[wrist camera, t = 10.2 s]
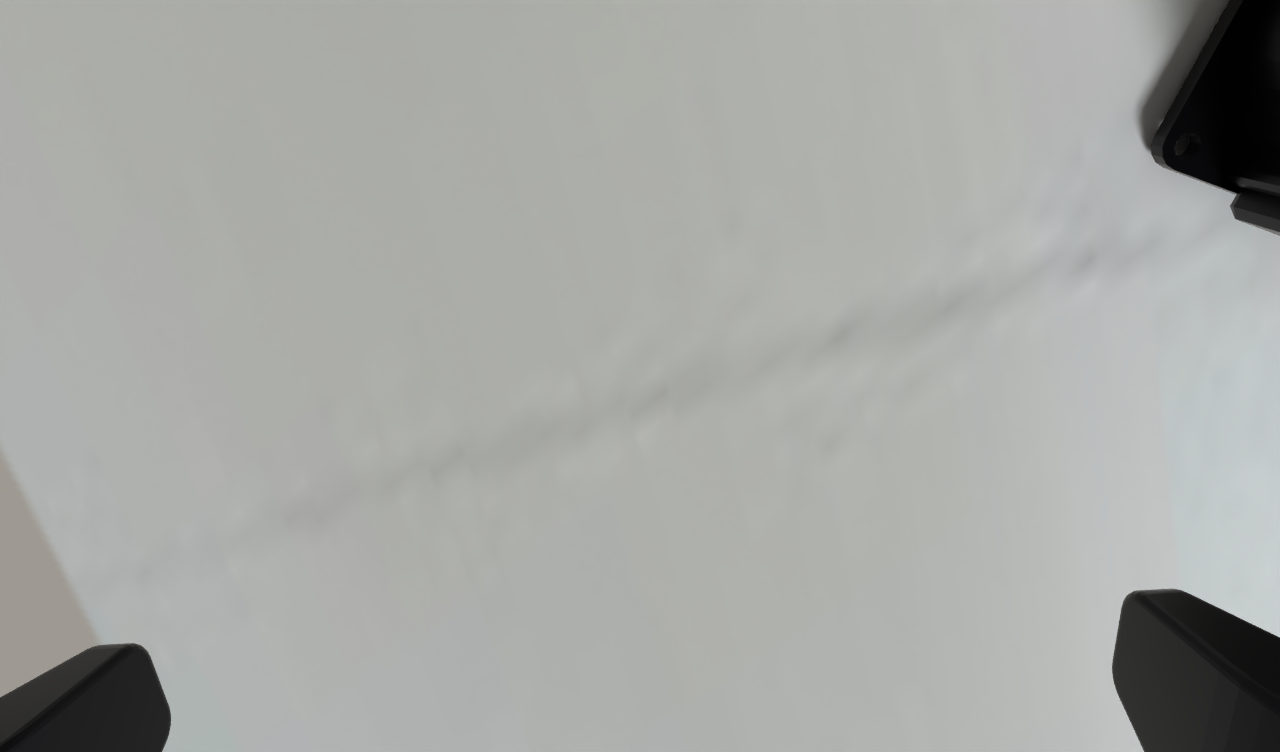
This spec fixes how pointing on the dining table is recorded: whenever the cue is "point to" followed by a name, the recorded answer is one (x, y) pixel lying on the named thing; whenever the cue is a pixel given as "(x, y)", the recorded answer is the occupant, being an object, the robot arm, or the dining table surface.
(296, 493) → the dining table surface
